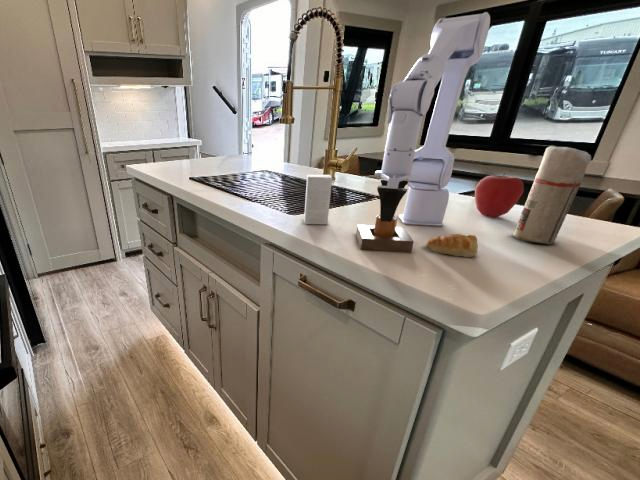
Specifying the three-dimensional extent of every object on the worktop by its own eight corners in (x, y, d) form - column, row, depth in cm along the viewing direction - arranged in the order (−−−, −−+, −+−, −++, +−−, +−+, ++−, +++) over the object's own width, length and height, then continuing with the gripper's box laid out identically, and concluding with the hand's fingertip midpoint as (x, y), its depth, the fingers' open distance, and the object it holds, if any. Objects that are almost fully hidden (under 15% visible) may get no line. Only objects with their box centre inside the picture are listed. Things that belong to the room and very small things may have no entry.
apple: (515, 215, 102) (531, 172, 97) (510, 223, 95) (527, 177, 90) (472, 208, 109) (484, 168, 103) (464, 216, 101) (477, 172, 96)
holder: (401, 237, 85) (403, 226, 84) (411, 252, 76) (413, 241, 75) (355, 234, 87) (357, 224, 86) (360, 249, 78) (362, 238, 77)
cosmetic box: (325, 220, 98) (330, 174, 92) (327, 225, 94) (333, 177, 88) (303, 219, 98) (307, 174, 92) (304, 224, 94) (308, 177, 89)
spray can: (515, 231, 89) (549, 144, 79) (557, 239, 84) (598, 146, 74) (507, 239, 83) (541, 146, 74) (551, 248, 78) (594, 149, 69)
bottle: (383, 239, 84) (389, 207, 80) (396, 245, 80) (403, 211, 77) (367, 241, 83) (373, 208, 79) (379, 247, 79) (386, 213, 75)
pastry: (428, 254, 75) (433, 237, 73) (421, 244, 81) (425, 227, 79) (478, 258, 73) (484, 240, 71) (467, 247, 79) (472, 230, 77)
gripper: (381, 145, 79) (371, 207, 86) (376, 152, 68) (364, 223, 74) (416, 147, 77) (402, 210, 83) (416, 154, 65) (400, 227, 72)
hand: (387, 216), depth 79 cm, fingers open, 7 cm apart
